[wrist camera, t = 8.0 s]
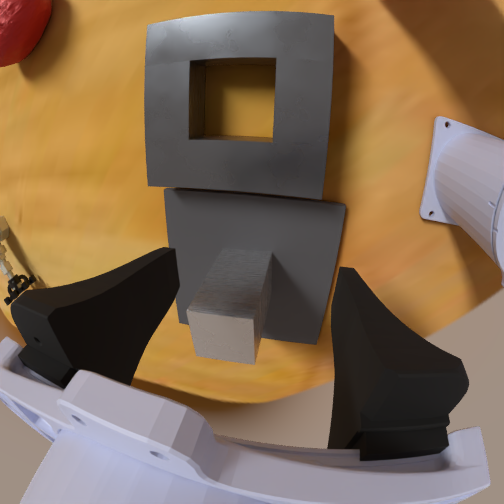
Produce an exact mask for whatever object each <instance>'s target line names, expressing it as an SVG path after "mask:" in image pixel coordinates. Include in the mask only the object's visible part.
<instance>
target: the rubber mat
mask: <svg viewBox="0 0 504 504" xmlns="http://www.w3.org/2000/svg"><path fill="white" fill-rule="evenodd" d="M164 199H165V211H166V223H167V233H168V243H169V248H175V250H176V258H177V266H178V273H179V280H180V288H179V290H178V292H177V295H176V304H177V310H178V317H179V323H182V324H187V325H189V321H188V317H187V312H186V311H187V309H188V307H189V305H190V304H191V302H192V300H193V299H194V297H195V295H196V293H197V292H198V290H199V288H200V286H201V285H202V283H203V281H204V280H205V278H206V276H207V275H208V273H209V271H210V269H211V268H212V266H213V264H214V263H215V261H216V259H217V258H218V256H219V254H220V253H221V251H222V249H234V250H250V251H265V252H272V294H271V298H270V302H269V307H268V311H267V315H266V320H265V324H264V328H263V333H262V337H261V338H267V339H274V340H281V341H289V342H297V343H305V344H314V345H316V344H317V340H318V337H319V333H320V329H321V325H322V321H323V317H324V313H325V309H326V305H327V300H328V296H329V292H330V287H331V283H332V278H333V273H334V269H335V264H336V259H337V254H338V249H339V244H340V238H341V233H342V227H343V221H344V215H345V209H346V205H345V204H342V203H335V202H327V201H319V200H311V199H303V198H294V197H284V196H275V195H264V194H254V193H242V192H229V191H216V190H200V189H182V188H166V189H164Z"/></svg>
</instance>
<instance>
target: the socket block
mask: <svg viewBox="0 0 504 504" xmlns="http://www.w3.org/2000/svg"><path fill="white" fill-rule="evenodd" d="M333 52H334V16H333V15H325V14H315V13H303V12H284V11H249V12H230V13H218V14H208V15H200V16H193V17H186V18H180V19H174V20H169V21H164V22H159V23H154V24H150V25H148V26H147V39H146V56H145V93H144V107H145V146H146V164H147V179H148V186H157V187H181V188H199V189H215V190H229V191H242V192H254V193H265V194H275V195H285V196H294V197H303V198H311V199H320V200H322V194H323V186H324V177H325V168H326V158H327V148H328V137H329V125H330V112H331V96H332V78H333ZM217 65H276V83H275V105H274V126H273V138H268V137H250V136H222V135H204V118H205V73H206V66H217Z"/></svg>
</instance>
